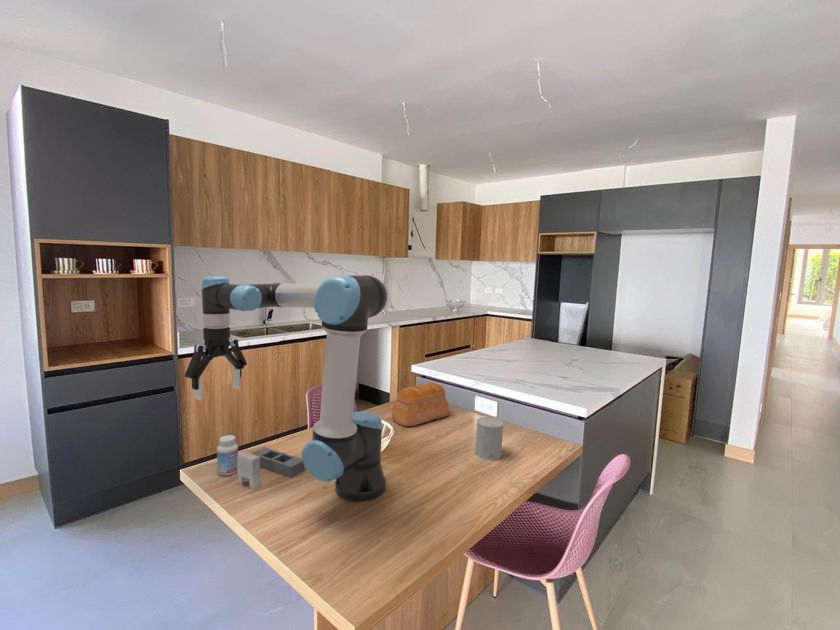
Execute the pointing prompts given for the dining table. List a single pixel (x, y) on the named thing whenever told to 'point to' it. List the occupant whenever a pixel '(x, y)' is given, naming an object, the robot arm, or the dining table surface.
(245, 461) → the white rectangular block
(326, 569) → the dining table surface
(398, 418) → the bread
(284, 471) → the grey slotted block
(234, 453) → the pill bottle
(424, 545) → the dining table surface
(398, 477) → the dining table surface
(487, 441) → the grey concrete cylinder
